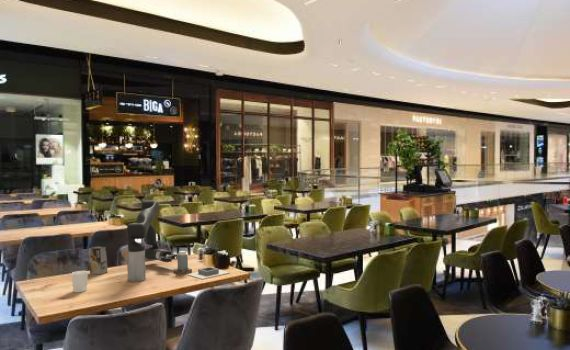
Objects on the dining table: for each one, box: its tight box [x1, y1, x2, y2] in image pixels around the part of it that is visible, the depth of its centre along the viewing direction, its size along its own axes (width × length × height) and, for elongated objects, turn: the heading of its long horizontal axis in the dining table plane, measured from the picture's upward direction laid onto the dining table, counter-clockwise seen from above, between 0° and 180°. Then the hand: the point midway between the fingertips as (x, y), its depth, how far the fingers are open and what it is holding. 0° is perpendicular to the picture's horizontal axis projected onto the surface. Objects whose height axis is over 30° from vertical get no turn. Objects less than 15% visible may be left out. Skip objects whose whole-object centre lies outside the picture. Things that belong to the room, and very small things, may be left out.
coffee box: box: [88, 246, 108, 275], centre depth 294 cm, size 9×6×16 cm
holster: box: [173, 267, 193, 275], centre depth 290 cm, size 8×8×2 cm
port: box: [186, 266, 231, 280], centre depth 284 cm, size 20×16×3 cm
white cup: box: [71, 270, 88, 293], centre depth 253 cm, size 8×8×10 cm
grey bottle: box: [177, 250, 189, 271], centre depth 290 cm, size 4×4×13 cm
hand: (177, 259), depth 294 cm, fingers open, 8 cm apart
